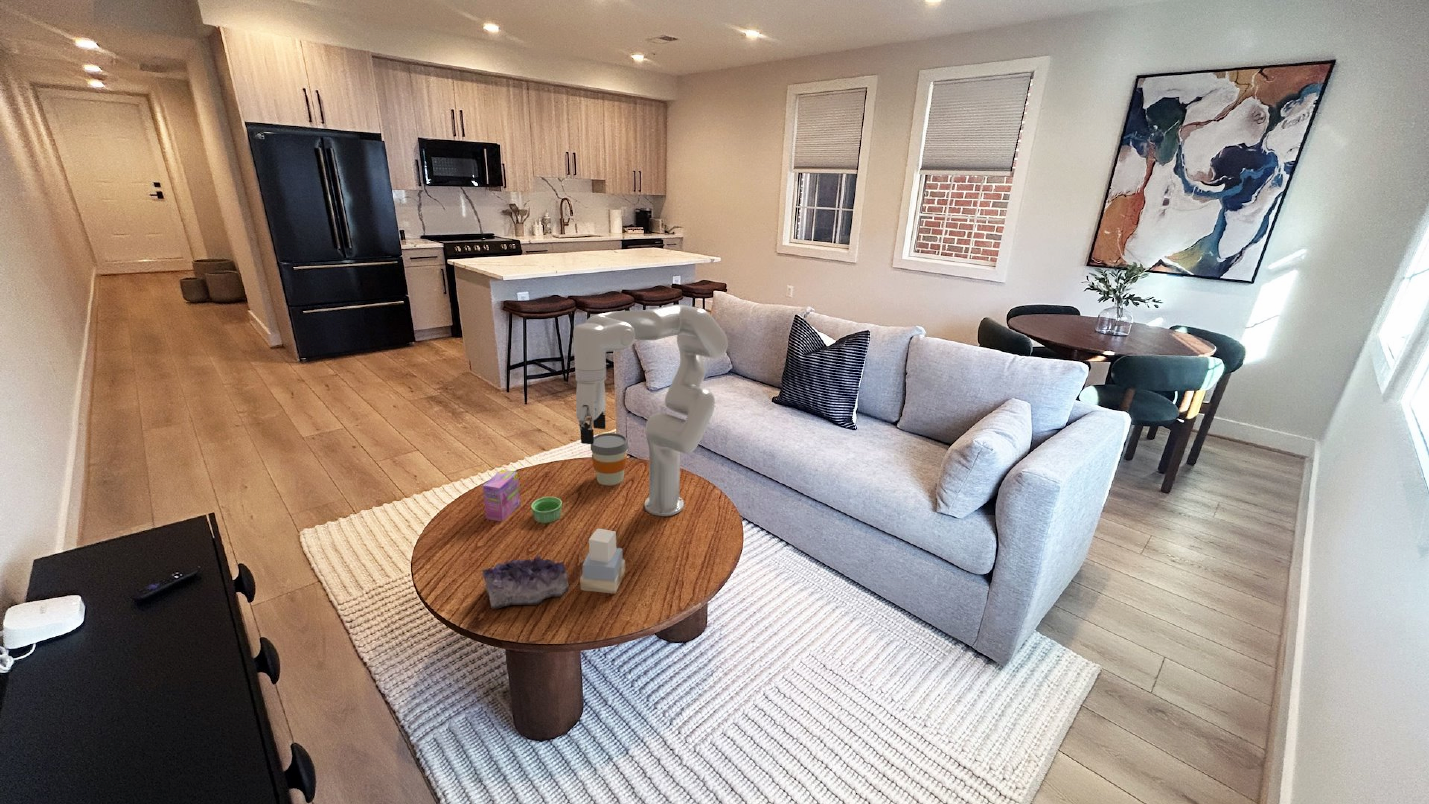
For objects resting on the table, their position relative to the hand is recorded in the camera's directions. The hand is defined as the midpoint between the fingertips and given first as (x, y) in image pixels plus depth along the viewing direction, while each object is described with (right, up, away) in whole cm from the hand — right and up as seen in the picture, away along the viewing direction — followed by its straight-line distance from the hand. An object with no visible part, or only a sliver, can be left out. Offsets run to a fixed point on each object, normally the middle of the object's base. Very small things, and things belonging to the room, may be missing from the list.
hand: (593, 435), depth 144 cm
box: (-34, -25, +27) cm, 50 cm away
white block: (+3, -30, -4) cm, 31 cm away
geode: (-15, -39, -7) cm, 42 cm away
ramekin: (-20, -27, +25) cm, 42 cm away
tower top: (+3, -34, -3) cm, 34 cm away
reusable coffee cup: (-5, -18, +48) cm, 52 cm away
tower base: (+3, -38, -1) cm, 38 cm away
